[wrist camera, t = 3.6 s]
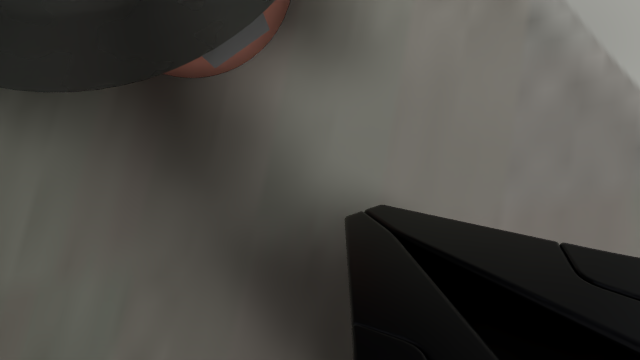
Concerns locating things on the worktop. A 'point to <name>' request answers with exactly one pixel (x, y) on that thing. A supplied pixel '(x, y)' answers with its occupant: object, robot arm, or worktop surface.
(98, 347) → the worktop surface
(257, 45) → the cooker pot
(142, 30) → the cooker lid
